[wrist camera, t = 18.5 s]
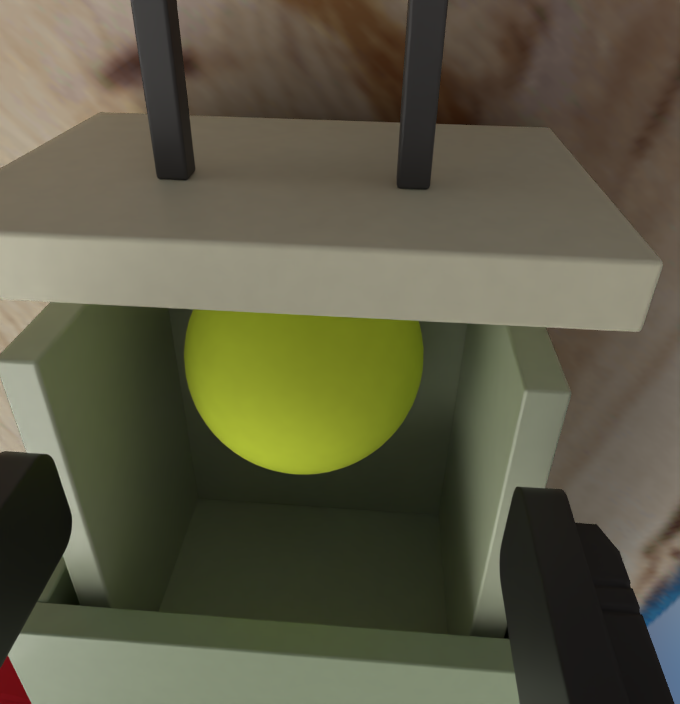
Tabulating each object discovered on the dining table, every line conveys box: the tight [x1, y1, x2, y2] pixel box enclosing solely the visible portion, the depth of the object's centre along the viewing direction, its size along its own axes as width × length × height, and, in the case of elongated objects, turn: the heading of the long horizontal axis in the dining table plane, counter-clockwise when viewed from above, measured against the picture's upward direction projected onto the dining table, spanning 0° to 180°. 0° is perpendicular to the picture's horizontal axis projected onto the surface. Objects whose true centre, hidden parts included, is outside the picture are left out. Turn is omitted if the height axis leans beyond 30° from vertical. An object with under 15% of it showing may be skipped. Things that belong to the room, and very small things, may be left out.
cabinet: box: [8, 555, 520, 704], centre depth 21 cm, size 15×13×10 cm
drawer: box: [0, 0, 663, 639], centre depth 15 cm, size 19×11×8 cm, turn 179°
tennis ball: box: [184, 309, 424, 475], centre depth 15 cm, size 6×6×6 cm
